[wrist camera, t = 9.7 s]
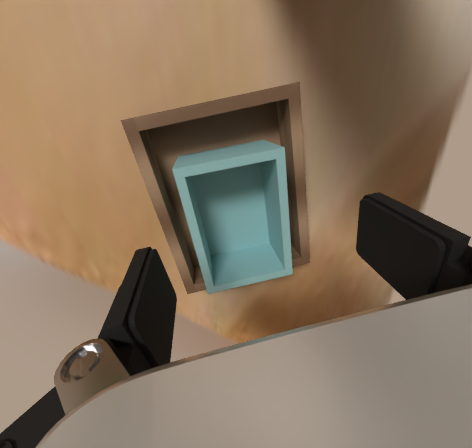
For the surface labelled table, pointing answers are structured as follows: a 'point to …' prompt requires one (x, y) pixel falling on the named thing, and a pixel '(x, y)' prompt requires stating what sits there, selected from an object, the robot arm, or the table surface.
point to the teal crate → (237, 212)
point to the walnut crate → (213, 137)
